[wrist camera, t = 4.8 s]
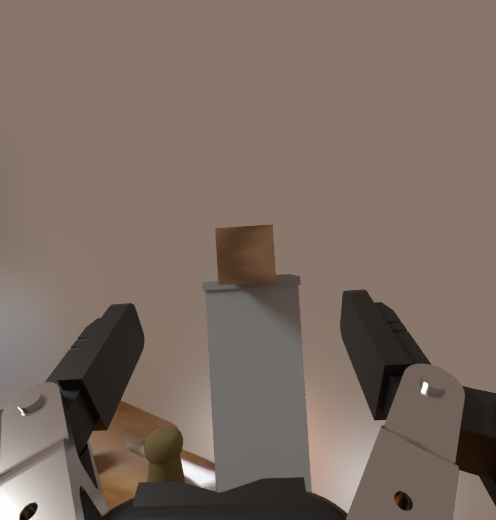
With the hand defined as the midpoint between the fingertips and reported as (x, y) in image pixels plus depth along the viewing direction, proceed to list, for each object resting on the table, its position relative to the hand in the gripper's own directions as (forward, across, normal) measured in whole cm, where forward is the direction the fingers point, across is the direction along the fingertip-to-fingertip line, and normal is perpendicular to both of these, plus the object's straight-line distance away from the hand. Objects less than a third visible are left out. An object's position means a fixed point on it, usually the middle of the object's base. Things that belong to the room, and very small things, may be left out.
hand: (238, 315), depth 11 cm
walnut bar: (+17, 0, +9) cm, 19 cm away
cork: (+10, +14, +42) cm, 45 cm away
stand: (+4, 0, +38) cm, 38 cm away
